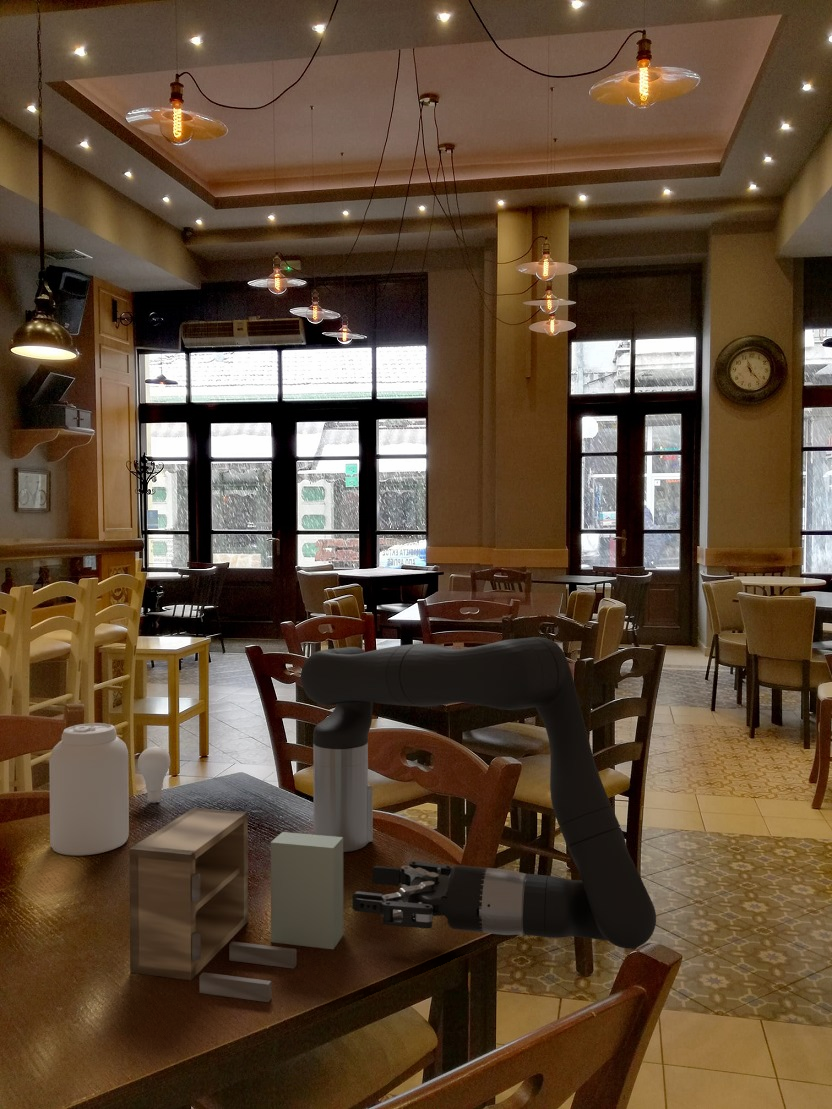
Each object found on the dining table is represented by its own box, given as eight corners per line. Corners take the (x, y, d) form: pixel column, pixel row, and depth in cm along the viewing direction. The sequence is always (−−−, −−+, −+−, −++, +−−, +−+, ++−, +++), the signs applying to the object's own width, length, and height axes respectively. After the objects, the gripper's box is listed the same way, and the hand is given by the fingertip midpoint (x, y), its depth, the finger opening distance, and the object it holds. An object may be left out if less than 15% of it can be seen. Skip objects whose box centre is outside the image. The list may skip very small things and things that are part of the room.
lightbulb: (177, 800, 172) (176, 745, 172) (155, 809, 166) (155, 752, 166) (153, 796, 174) (152, 741, 174) (131, 805, 169) (130, 748, 169)
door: (285, 925, 118) (285, 829, 117) (345, 931, 116) (345, 834, 115) (270, 942, 113) (270, 842, 112) (333, 949, 111) (333, 848, 110)
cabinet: (194, 915, 120) (193, 807, 120) (323, 930, 116) (322, 818, 116) (119, 981, 103) (118, 855, 102) (268, 1002, 98) (268, 870, 98)
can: (50, 862, 140) (49, 738, 139) (49, 837, 151) (48, 722, 151) (132, 850, 145) (131, 731, 144) (125, 827, 156) (124, 716, 156)
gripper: (496, 849, 115) (378, 839, 119) (479, 893, 101) (346, 879, 105) (496, 905, 115) (378, 893, 119) (479, 957, 101) (346, 941, 105)
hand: (363, 887), depth 112 cm, fingers open, 8 cm apart
